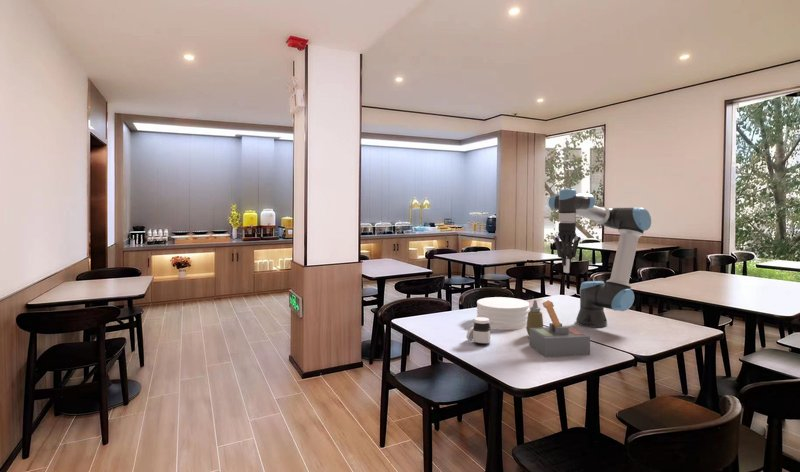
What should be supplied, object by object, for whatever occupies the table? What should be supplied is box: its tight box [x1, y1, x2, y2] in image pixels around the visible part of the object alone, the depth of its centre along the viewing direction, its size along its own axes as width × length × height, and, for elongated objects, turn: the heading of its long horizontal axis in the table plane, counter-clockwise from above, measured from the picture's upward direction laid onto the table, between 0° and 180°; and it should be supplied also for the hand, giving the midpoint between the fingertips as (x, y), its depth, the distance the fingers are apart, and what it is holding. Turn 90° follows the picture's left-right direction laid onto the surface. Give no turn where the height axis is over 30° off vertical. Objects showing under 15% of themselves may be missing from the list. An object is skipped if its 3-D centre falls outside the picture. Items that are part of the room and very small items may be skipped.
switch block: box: [528, 322, 591, 358], centre depth 187 cm, size 20×16×11 cm
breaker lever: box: [542, 299, 562, 327], centre depth 186 cm, size 3×4×14 cm
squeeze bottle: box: [525, 299, 544, 336], centre depth 206 cm, size 8×8×18 cm
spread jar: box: [466, 316, 491, 347], centre depth 198 cm, size 12×11×12 cm
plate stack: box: [476, 296, 530, 331], centre depth 233 cm, size 28×28×12 cm
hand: (566, 272), depth 199 cm, fingers closed
